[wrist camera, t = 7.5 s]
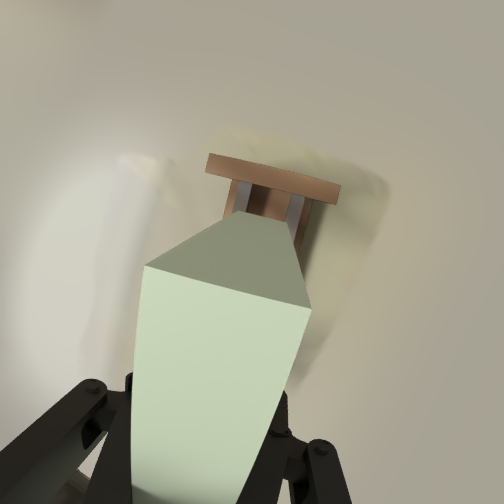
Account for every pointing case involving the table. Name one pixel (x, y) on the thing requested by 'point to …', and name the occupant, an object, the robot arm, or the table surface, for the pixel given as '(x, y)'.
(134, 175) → the table surface
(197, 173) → the table surface
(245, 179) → the wooden rail bracket
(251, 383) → the door panel
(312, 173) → the table surface
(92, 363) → the table surface
